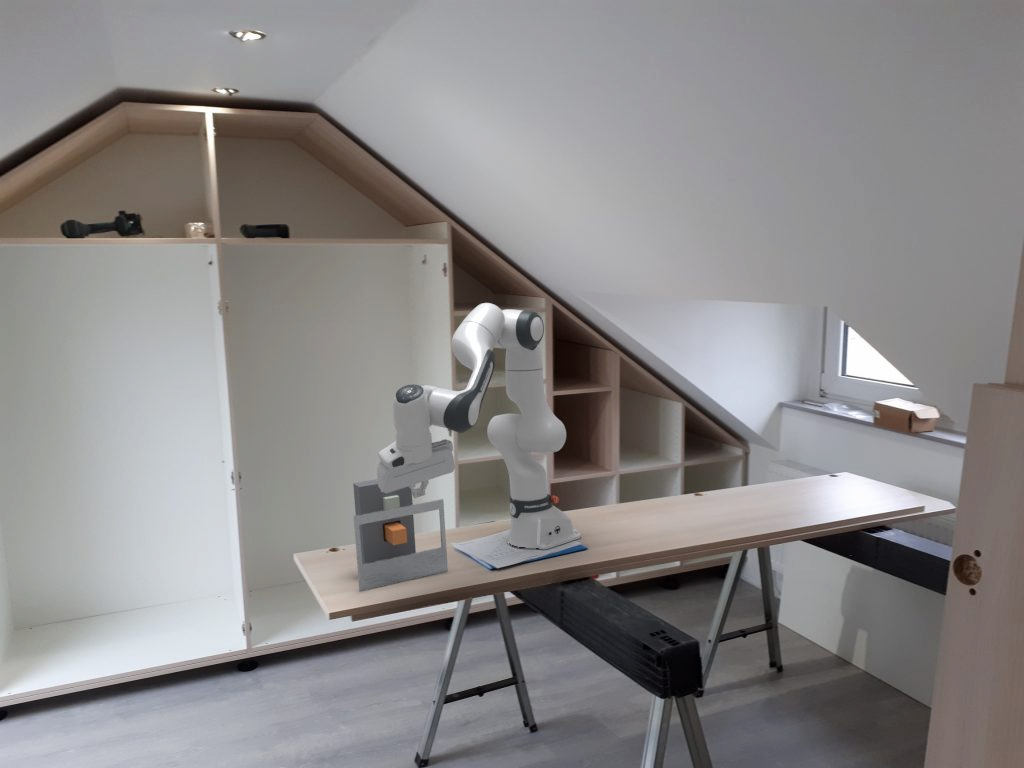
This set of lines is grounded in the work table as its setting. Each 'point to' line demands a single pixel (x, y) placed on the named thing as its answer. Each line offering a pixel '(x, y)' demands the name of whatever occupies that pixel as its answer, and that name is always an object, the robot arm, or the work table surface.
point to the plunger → (395, 533)
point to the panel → (373, 533)
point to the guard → (405, 564)
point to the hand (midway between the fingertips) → (419, 495)
